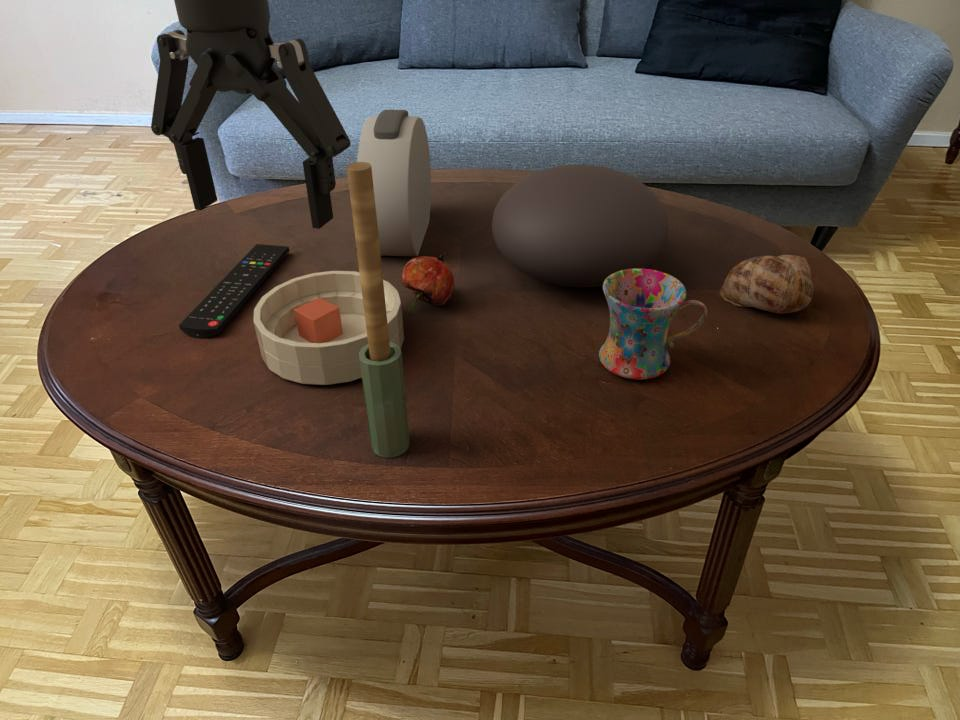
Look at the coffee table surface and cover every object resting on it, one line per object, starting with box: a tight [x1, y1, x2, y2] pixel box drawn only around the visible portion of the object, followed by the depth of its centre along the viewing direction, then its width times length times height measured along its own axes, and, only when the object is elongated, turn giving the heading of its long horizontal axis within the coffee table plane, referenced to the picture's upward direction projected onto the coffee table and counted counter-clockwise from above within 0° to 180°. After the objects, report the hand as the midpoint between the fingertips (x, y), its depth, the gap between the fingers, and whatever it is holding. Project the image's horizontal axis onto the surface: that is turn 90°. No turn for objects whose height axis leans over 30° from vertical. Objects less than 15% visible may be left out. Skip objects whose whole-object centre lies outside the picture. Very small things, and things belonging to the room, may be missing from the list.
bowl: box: [252, 270, 405, 386], centre depth 89 cm, size 18×18×6 cm
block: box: [294, 297, 343, 343], centre depth 91 cm, size 4×4×4 cm
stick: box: [346, 161, 391, 362], centre depth 67 cm, size 2×2×30 cm
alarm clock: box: [356, 109, 432, 258], centre depth 110 cm, size 21×8×20 cm, turn 175°
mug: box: [598, 268, 708, 381], centre depth 84 cm, size 12×9×11 cm
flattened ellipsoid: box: [491, 164, 670, 288], centre depth 102 cm, size 25×25×15 cm
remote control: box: [178, 243, 290, 339], centre depth 102 cm, size 5×24×1 cm, turn 170°
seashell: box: [719, 254, 814, 315], centre depth 96 cm, size 10×9×10 cm
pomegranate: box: [401, 251, 455, 316], centre depth 97 cm, size 7×7×10 cm
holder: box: [359, 342, 410, 459], centre depth 72 cm, size 4×4×12 cm
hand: (263, 214), depth 71 cm, fingers open, 13 cm apart
